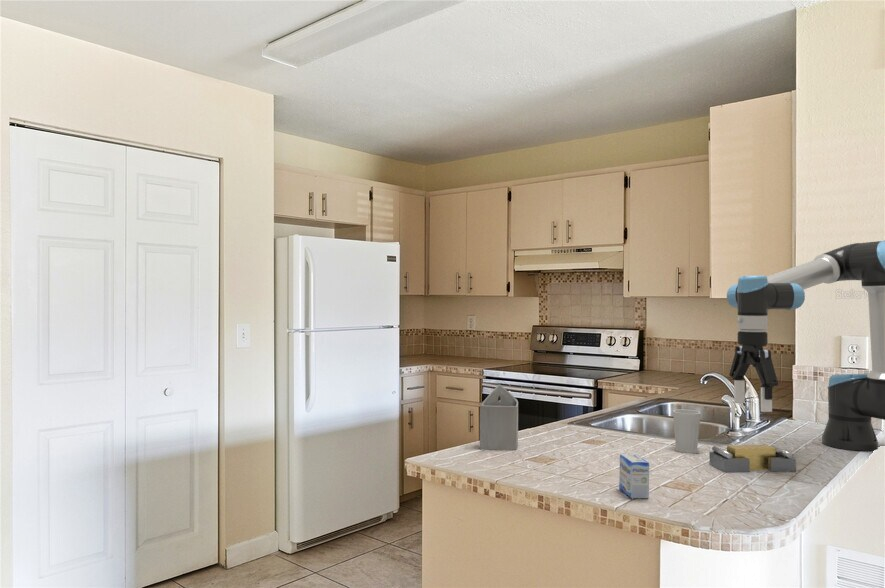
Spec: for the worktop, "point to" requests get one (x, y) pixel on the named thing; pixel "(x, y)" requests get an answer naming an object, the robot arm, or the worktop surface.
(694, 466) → the worktop surface
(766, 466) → the gold rectangular block
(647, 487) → the medicine box
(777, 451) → the bracket
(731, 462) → the chain end
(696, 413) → the cup
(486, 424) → the planter
